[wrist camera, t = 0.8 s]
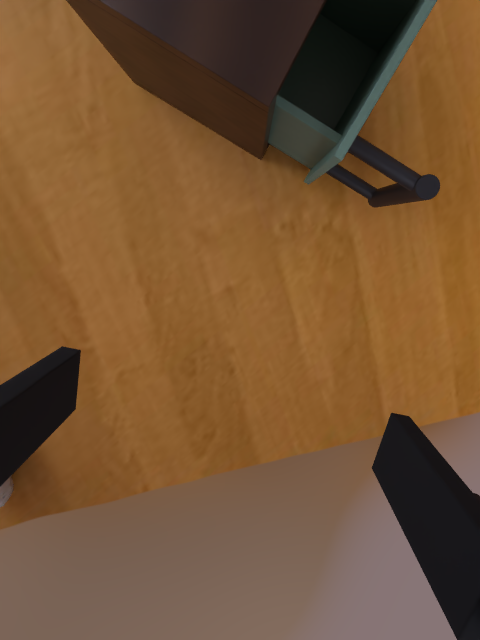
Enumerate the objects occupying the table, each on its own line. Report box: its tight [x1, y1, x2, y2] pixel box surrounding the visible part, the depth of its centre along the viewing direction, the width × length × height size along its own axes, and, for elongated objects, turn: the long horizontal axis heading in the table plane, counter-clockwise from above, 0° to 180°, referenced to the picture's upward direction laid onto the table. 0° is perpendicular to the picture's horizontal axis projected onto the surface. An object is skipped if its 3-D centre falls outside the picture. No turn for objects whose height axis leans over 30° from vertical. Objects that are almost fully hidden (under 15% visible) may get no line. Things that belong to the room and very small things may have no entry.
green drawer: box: [268, 0, 440, 207], centre depth 26 cm, size 20×14×13 cm
